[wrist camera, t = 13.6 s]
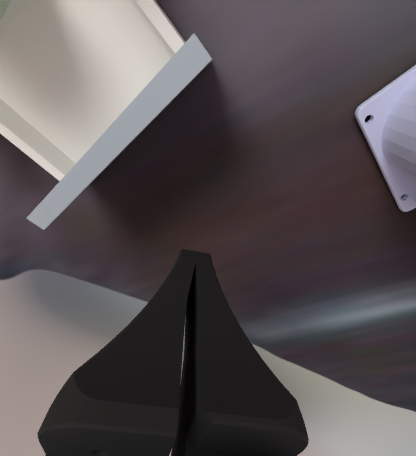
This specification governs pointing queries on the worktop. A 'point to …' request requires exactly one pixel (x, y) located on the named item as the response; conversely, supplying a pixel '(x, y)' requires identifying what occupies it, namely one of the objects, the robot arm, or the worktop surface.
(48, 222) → the tray
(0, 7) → the block
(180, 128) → the worktop surface
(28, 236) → the worktop surface
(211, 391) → the robot arm
